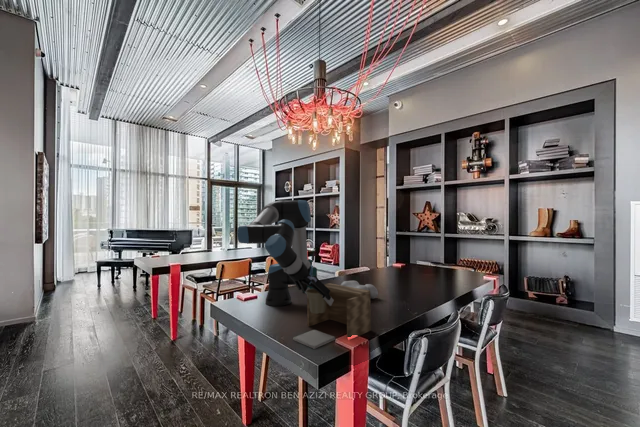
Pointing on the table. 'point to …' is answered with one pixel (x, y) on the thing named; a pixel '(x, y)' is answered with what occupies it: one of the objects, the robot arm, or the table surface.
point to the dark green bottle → (312, 273)
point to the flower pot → (316, 301)
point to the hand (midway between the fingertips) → (322, 300)
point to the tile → (314, 338)
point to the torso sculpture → (362, 287)
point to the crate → (345, 309)
